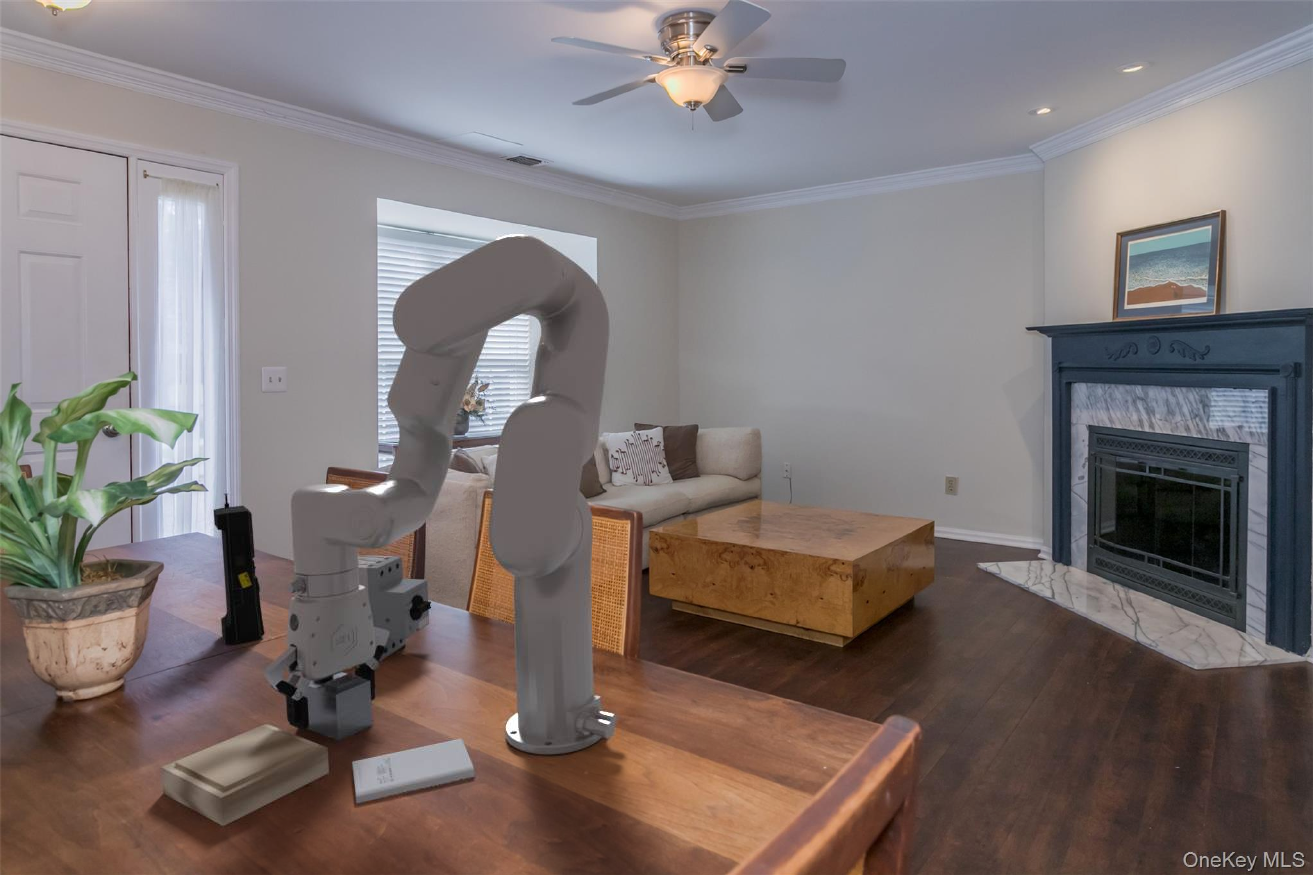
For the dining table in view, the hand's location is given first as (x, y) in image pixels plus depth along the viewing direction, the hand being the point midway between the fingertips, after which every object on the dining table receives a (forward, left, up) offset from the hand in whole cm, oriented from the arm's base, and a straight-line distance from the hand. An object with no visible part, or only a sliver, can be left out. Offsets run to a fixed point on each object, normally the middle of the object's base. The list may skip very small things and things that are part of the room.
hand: (333, 711), depth 100 cm
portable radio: (+44, -13, -2) cm, 46 cm away
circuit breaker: (+16, -21, -2) cm, 26 cm away
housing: (0, 0, -2) cm, 2 cm away
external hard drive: (-18, +3, -3) cm, 19 cm away
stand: (-4, +14, -2) cm, 15 cm away
